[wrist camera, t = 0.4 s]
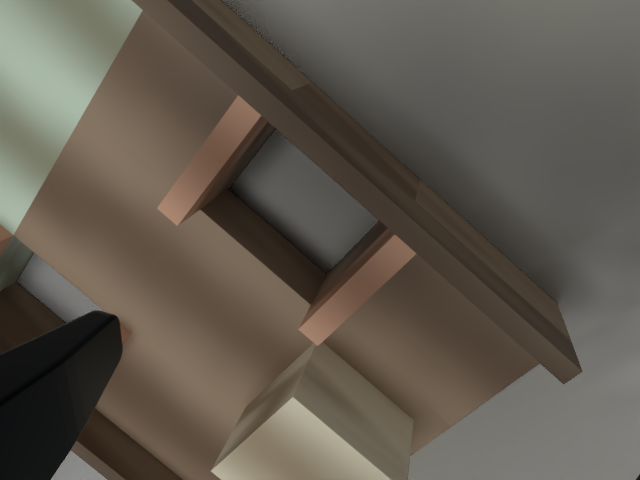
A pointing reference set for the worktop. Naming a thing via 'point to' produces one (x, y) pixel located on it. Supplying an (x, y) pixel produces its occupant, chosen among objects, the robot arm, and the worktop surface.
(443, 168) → the worktop surface
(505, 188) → the worktop surface
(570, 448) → the worktop surface
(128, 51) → the brown wooden tray
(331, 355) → the birch block
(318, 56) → the worktop surface
